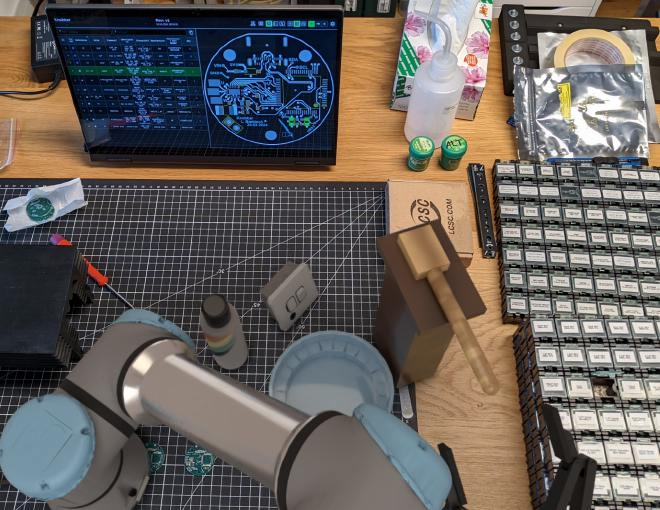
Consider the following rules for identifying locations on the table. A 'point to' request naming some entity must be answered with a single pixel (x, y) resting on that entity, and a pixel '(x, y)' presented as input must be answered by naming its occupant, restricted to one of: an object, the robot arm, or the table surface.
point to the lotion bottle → (223, 331)
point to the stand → (418, 310)
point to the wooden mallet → (446, 297)
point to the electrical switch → (289, 293)
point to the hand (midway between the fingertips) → (497, 425)
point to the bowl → (332, 374)
